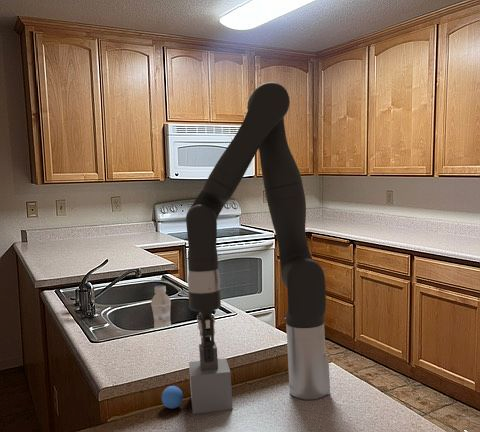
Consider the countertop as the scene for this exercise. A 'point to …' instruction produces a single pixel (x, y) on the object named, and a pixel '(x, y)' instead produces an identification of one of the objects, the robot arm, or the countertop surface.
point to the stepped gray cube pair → (210, 384)
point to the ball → (172, 397)
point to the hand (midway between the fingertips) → (207, 355)
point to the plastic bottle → (161, 307)
